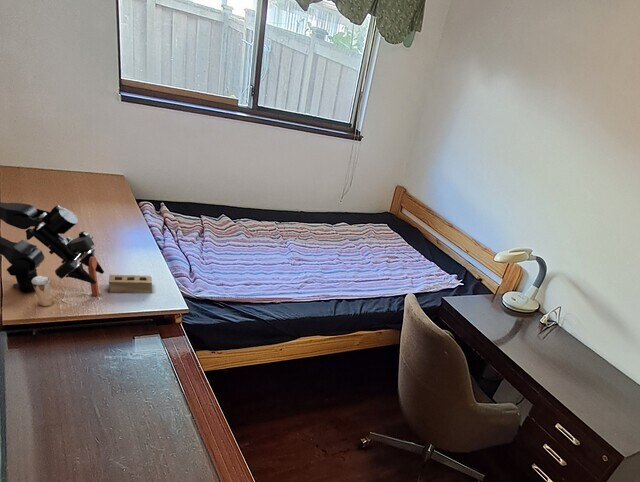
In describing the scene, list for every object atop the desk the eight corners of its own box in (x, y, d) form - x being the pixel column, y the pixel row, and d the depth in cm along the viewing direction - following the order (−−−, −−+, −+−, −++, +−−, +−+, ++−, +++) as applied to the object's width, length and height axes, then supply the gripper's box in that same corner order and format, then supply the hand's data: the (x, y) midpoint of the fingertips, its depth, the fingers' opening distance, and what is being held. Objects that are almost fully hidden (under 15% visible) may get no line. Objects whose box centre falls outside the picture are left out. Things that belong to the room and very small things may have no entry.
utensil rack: (111, 284, 159) (109, 274, 157) (152, 285, 165) (151, 275, 163) (110, 292, 156) (108, 282, 153) (152, 292, 161) (151, 282, 159)
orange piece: (90, 297, 151) (84, 259, 143) (95, 291, 154) (89, 254, 146) (97, 298, 151) (91, 260, 143) (101, 292, 154) (96, 254, 147)
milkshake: (48, 309, 141) (42, 280, 135) (33, 304, 141) (26, 275, 136) (60, 303, 145) (54, 275, 139) (45, 298, 145) (38, 270, 139)
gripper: (60, 238, 131) (106, 277, 140) (84, 216, 146) (125, 253, 155) (34, 259, 134) (82, 296, 142) (61, 235, 148) (102, 270, 157)
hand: (99, 277), depth 149 cm, fingers open, 7 cm apart
